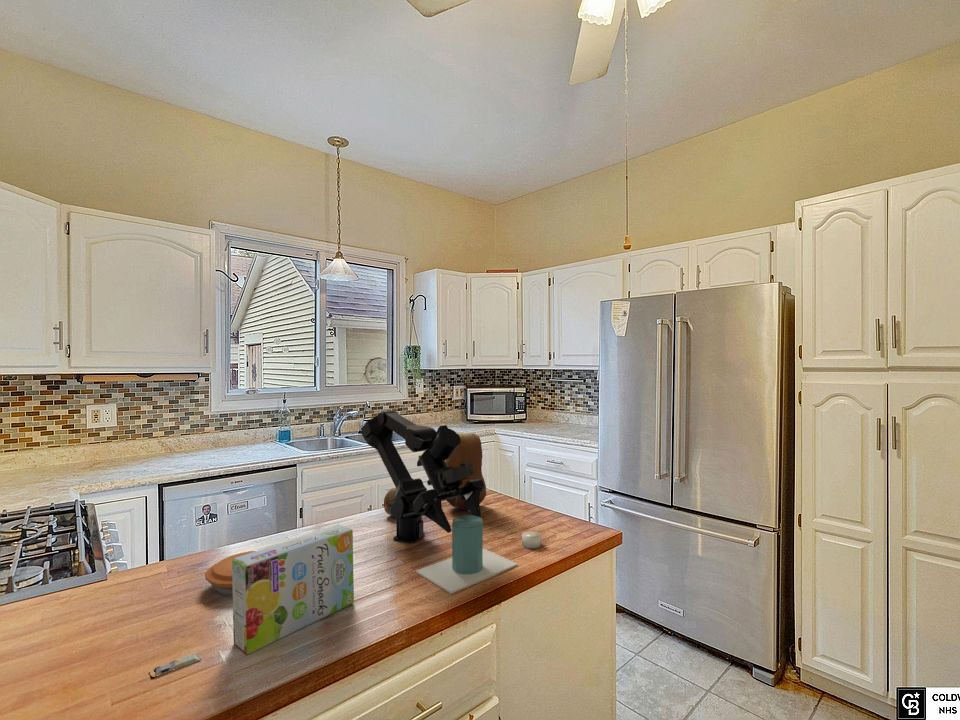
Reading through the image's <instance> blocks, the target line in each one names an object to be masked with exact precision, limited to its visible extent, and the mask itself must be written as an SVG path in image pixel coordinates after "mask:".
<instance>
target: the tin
mask: <svg viewBox="0 0 960 720" xmlns="http://www.w3.org/2000/svg"><path fill="white" fill-rule="evenodd" d="M395 493H396V487H394V488H392V489H390V490H389V491H387V493H386V494H385V496H384V499H383V508H384V511H385V512H386V514H387V515H389V516H392V515H391V507H392V505H393V504H394V502H395Z"/></svg>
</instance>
